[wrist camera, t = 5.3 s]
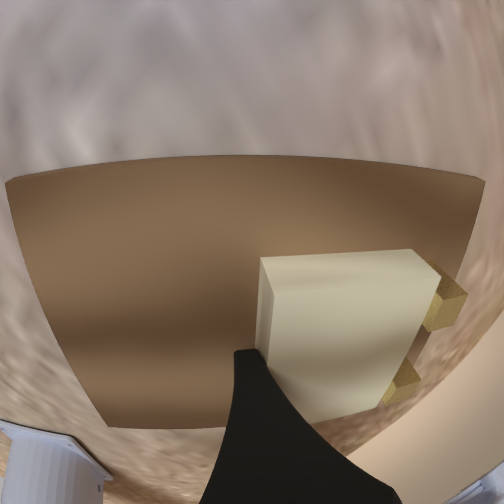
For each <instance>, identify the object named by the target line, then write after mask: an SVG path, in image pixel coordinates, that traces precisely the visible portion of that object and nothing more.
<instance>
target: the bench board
mask: <svg viewBox="0 0 504 504" xmlns="http://www.w3.org/2000/svg"><path fill="white" fill-rule="evenodd" d="M485 182H486V181H484V180H482V179H479V178H477V177H474V176H469V175H464V174H458V173H453V172H447V171H441V170H435V169H429V168H422V167H415V166H408V165H400V164H392V163H383V162H374V161H364V160H352V159H340V158H325V157H307V156H281V155H211V156H184V157H166V158H152V159H139V160H128V161H118V162H109V163H100V164H92V165H84V166H77V167H70V168H64V169H57V170H51V171H45V172H40V173H34V174H29V175H24V176H19V177H14V178H12V179H11V180H9V181H7V182H6V183H5V187H6V192H7V197H8V202H9V206H10V211H11V215H12V219H13V223H14V227H15V231H16V234H17V238H18V241H19V245H20V248H21V251H22V255H23V258H24V261H25V264H26V267H27V270H28V273H29V275H30V278H31V281H32V284H33V286H34V289H35V292H36V294H37V297H38V299H39V302H40V304H41V306H42V309H43V311H44V313H45V316H46V318H47V320H48V323H49V325H50V327H51V329H52V331H53V333H54V335H55V338H56V340H57V342H58V344H59V346H60V348H61V350H62V352H63V353H64V355H65V357H66V359H67V361H68V363H69V365H70V367H71V368H72V370H73V372H74V374H75V375H76V377H77V379H78V381H79V382H80V384H81V386H82V387H83V389H84V391H85V392H86V394H87V396H88V397H89V399H90V400H91V402H92V403H93V405H94V407H95V408H96V410H97V411H98V413H99V414H100V416H101V417H102V419H103V420H104V421H105V423H106V424H107V426H108V427H117V428H134V429H197V428H215V427H227V422H228V418H229V413H230V408H231V403H232V396H233V389H234V352H235V351H236V350H245V349H255V339H256V323H257V306H258V289H259V272H260V257H277V256H295V255H314V254H332V253H349V252H367V251H384V250H401V249H412V250H413V251H414V252H415V253H416V254H418V255H419V256H420V257H421V258H422V259H423V260H424V261H434V262H435V263H436V264H437V265H438V266H439V267H440V268H441V269H442V270H443V271H444V272H446V273H447V274H448V275H449V276H450V277H451V278H452V279H453V280H454V281H455V279H456V276H457V273H458V271H459V268H460V266H461V263H462V260H463V257H464V255H465V252H466V249H467V246H468V243H469V240H470V237H471V234H472V231H473V227H474V224H475V221H476V217H477V214H478V210H479V206H480V203H481V199H482V195H483V190H484V186H485ZM431 332H432V331H431ZM431 332H428V331H427V330H426V328H425V327H424V326H423V325H422V324H421V326H420V328H419V330H418V333H417V335H416V337H415V339H414V341H413V343H412V345H411V347H410V349H409V351H408V352H407V354H406V357H407V358H408V360H409V362H410V363H411V365H412V366H413V365H414V363H415V362H416V360H417V358H418V356H419V354H420V353H421V351H422V349H423V347H424V345H425V343H426V341H427V340H428V338H429V336H430V334H431Z"/></svg>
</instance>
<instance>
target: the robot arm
mask: <svg viewBox="0 0 504 504" xmlns="http://www.w3.org/2000/svg"><path fill="white" fill-rule="evenodd" d="M0 430H2V431H3V432H4V433H5V434H6V435H7V436H8V437H9V438H10V439H11V440H12V444H11V448H10V452H9V457H8V462H7V467H6V472H5V477H4V484H3V490H2V497H1V504H103V490H104V480H107V481H113V476H111V475H110V474H109V473H108V472H107V471H106V470H105V469H104V468H103V467H102V466H100V465H99V464H98V463H97V462H96V461H95V460H94V459H93V458H92V457H91V456H90V455H89V454H88V453H87V452H86V451H85V450H84V449H83V448H82V447H81V446H80V445H79V444H78V443H77V442H76V440H75V439H73V438H72V437H70V436H66V435H61V434H55V433H50V432H45V431H40V430H36V429H31V428H27V427H23V426H19V425H15V424H12V423H8V422H4V421H1V420H0ZM199 504H402V502H401V500H400V498H399V497H398V495H397V493H396V492H395V490H394V489H393V488H392V487H390V486H388V485H386V484H385V483H383V482H381V481H379V480H378V479H376V478H374V477H373V476H371V475H369V474H368V473H366V472H365V471H363V470H362V469H360V468H359V467H358V466H356V465H355V464H353V463H352V462H351V461H349V460H348V459H347V458H346V457H344V456H343V455H342V454H341V453H339V452H338V451H337V450H336V449H334V448H333V447H332V446H331V445H330V444H329V443H328V442H327V441H325V440H324V439H323V438H322V437H321V436H320V435H319V434H318V433H317V432H316V431H315V430H314V429H313V428H312V427H311V426H310V425H309V424H308V422H307V421H306V420H305V419H304V418H303V417H302V416H301V414H300V413H299V412H298V411H297V410H296V408H295V407H294V406H293V405H292V403H291V402H290V401H289V400H288V398H287V397H286V395H285V394H284V393H283V391H282V390H281V388H280V387H279V386H278V384H277V383H276V381H275V380H274V378H273V376H272V375H271V373H270V371H269V370H268V368H267V366H266V365H265V363H264V361H263V359H262V357H261V355H260V353H259V350H257V349H256V348H255V349H245V350H236V351H235V352H234V389H233V396H232V403H231V408H230V413H229V418H228V422H227V427H226V431H225V435H224V438H223V442H222V445H221V448H220V452H219V455H218V458H217V460H216V463H215V466H214V469H213V472H212V474H211V477H210V479H209V482H208V484H207V487H206V489H205V491H204V493H203V496H202V498H201V500H200V502H199ZM442 504H504V460H503V461H502V462H500V463H499V464H498V465H497V466H495V467H494V468H493V469H492V470H490V471H489V472H487V473H486V474H484V475H482V476H481V477H480V478H478V479H477V480H475V481H474V482H472V483H471V484H470V485H468V486H467V487H465V488H464V489H462V490H461V491H460V493H458V494H457V495H455V496H454V497H452V498H450V499H449V500H447V501H446V502H444V503H442Z"/></svg>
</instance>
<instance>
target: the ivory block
mask: <svg viewBox="0 0 504 504" xmlns="http://www.w3.org/2000/svg"><path fill="white" fill-rule="evenodd" d="M440 279H441V276H440V275H439V274H438V273H437V272H436V271H435V270H434V269H433V268H432V267H431V266H430V265H428V264H427V263H426V262H425V261H424V260H423V259H422V258H421V257H420V256H419V255H418V254H416V253H415V252H414V251H413V250H412V249H401V250H384V251H367V252H349V253H332V254H314V255H295V256H277V257H260V272H259V289H258V306H257V323H256V339H255V348H256V349H257V350H259V353H260V355H261V357H262V359H263V361H264V363H265V365H266V366H267V368H268V370H269V371H270V373H271V375H272V376H273V378H274V380H275V381H276V383H277V384H278V386H279V387H280V388H281V390H282V391H283V393H284V394H285V395H286V397H287V398H288V400H289V401H290V402H291V403H292V405H293V406H294V407H295V408H296V410H297V411H298V412H299V413H300V414H301V416H302V417H303V418H304V419H305V420H306V421H307V422H308V424H313V423H318V422H322V421H327V420H331V419H335V418H339V417H343V416H347V415H351V414H355V413H358V412H362V411H366V410H369V409H372V408H376V406H377V404H378V403H379V401H380V400H381V398H382V396H383V395H384V393H385V392H386V390H387V388H388V387H389V385H390V383H391V381H392V380H393V378H394V376H395V375H396V373H397V371H398V369H399V367H400V366H401V364H402V362H403V360H404V358H405V356H406V354H407V352H408V351H409V349H410V347H411V345H412V343H413V341H414V339H415V337H416V335H417V333H418V330H419V328H420V326H421V324H422V322H423V320H424V318H425V315H426V313H427V311H428V309H429V306H430V304H431V302H432V299H433V297H434V294H435V292H436V289H437V287H438V284H439V282H440Z"/></svg>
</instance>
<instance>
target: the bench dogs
mask: <svg viewBox="0 0 504 504" xmlns="http://www.w3.org/2000/svg"><path fill="white" fill-rule="evenodd" d="M425 262H426V263H427V264H428V265H430V266H431V267H432V268H433V269H434V270H435V271H436V272H437V273H438V274H439V275H440V276H441V279H440V282H439V284H438V287H437V289H436V292H435V294H434V297H433V299H432V302H431V304H430V306H429V309H428V311H427V313H426V315H425V318H424V320H423V322H422V325H423V326H424V327H425V328H426V330H427V331H428V332H431V331H434V330H438V329H441V328H445V327H448V326H451V325H454V323H455V321H456V319H457V317H458V315H459V313H460V311H461V309H462V307H463V305H464V303H465V300H466V298H467V296H468V294H467V293H466V292H465V291H464V290H463V289H462V288H461V287H460V286H459V285H458V284H457V283H456V282H455V281H454V280H453V279H452V278H451V277H450V276H449V275H448V274H447V273H446V272H444V271H443V270H442V269H441V268H440V267H439V266H438V265H437V264H436V263H435V262H434V261H425ZM420 381H421V379H420V377H419V375H418V374H417V372H416V371H415V369H414V368H413V366H412V365H411V363H410V362H409V360H408V358H407V357H406V356H405V358H404V360H403V362H402V364H401V366H400V367H399V369H398V371H397V373H396V375H395V376H394V378H393V380H392V381H391V383H390V385H389V387H388V388H387V390H386V392H385V393H384V395H383V396H382V398H381V399H382V401H383V403H384V405H385V406H387V405H390V404H393V403H396V402H399V401H402V400H405V399H408V398H409V397H410V396H411V395H412V393H413V392H414V390H415V389H416V387H417V386H418V384H419V383H420Z"/></svg>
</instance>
